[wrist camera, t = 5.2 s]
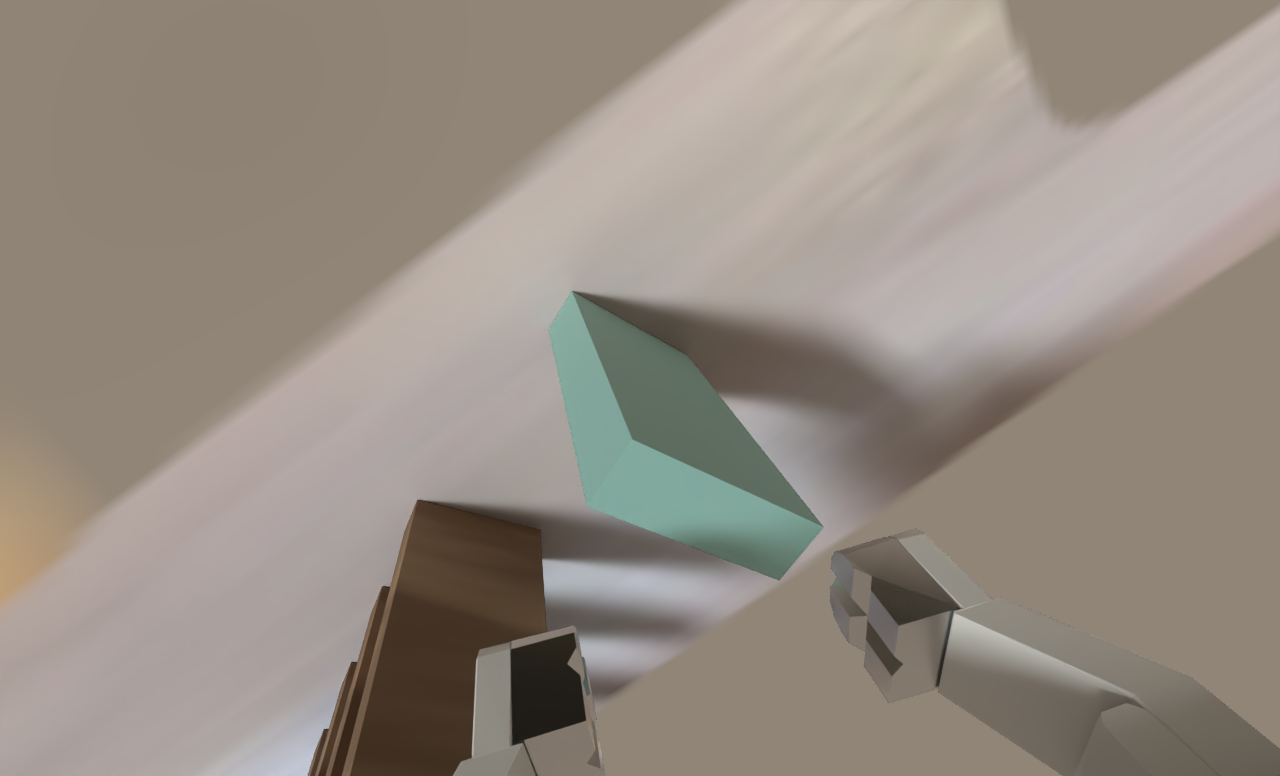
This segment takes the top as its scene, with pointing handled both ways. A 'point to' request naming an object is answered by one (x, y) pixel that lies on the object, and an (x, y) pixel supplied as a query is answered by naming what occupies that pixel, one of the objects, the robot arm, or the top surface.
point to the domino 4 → (443, 638)
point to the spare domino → (670, 446)
